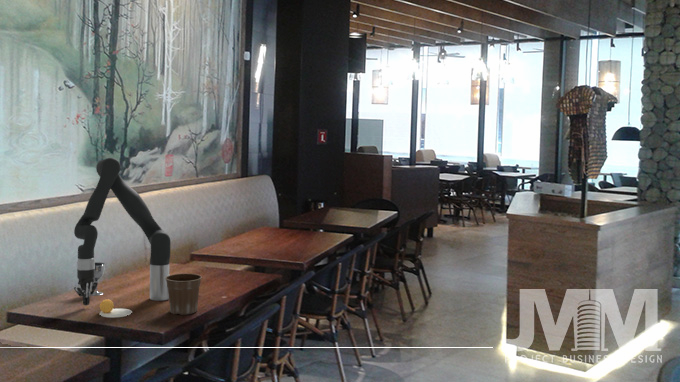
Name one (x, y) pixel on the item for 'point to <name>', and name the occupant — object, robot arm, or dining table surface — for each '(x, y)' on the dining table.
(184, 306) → the plant pot
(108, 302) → the ball
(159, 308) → the dining table surface
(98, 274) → the wine glass
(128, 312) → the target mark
